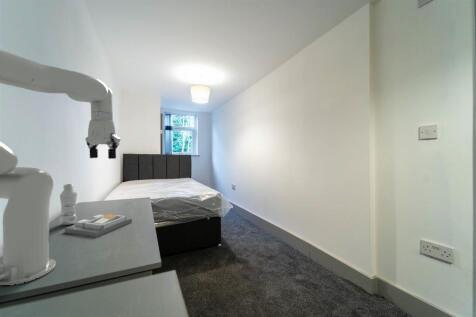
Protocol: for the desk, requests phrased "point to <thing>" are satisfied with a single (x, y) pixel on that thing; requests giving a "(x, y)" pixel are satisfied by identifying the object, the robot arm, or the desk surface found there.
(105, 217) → the breaker switch
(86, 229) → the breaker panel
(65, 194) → the plastic bottle
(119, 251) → the desk surface
